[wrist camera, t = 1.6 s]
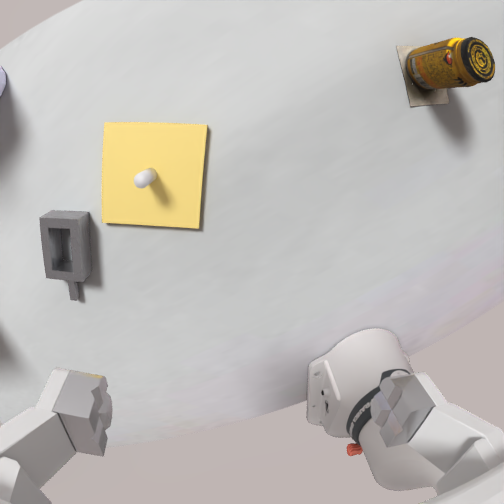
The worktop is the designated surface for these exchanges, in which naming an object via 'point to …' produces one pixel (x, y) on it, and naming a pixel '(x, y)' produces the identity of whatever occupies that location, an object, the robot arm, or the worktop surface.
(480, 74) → the condiment
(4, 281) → the worktop surface
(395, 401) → the robot arm
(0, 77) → the soap bottle
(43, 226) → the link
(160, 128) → the keeper
